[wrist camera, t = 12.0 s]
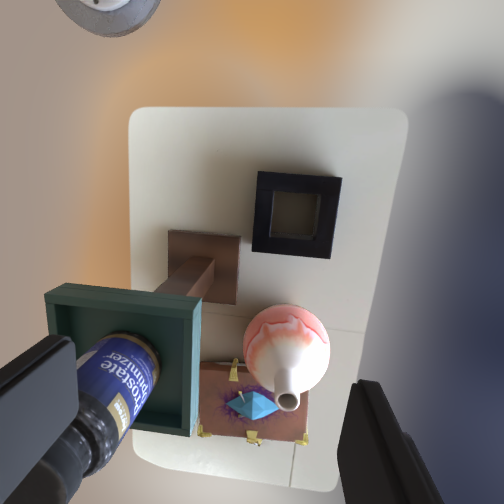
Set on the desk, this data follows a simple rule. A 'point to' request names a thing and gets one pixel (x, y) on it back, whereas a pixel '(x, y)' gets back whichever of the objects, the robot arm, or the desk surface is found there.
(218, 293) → the stand
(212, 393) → the book
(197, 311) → the tray
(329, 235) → the holder
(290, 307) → the vase
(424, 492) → the robot arm
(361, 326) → the desk surface
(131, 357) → the pill bottle
